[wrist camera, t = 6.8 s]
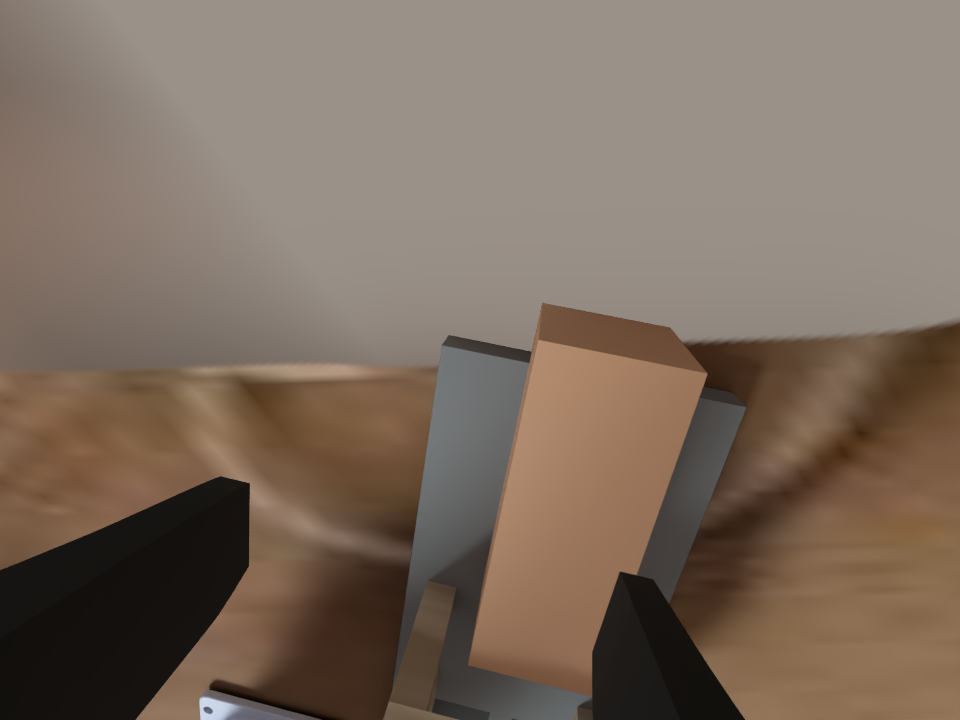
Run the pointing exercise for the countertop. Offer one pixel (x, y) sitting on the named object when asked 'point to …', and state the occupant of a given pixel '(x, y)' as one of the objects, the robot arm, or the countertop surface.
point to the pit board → (474, 506)
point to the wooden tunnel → (429, 660)
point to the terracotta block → (580, 489)
